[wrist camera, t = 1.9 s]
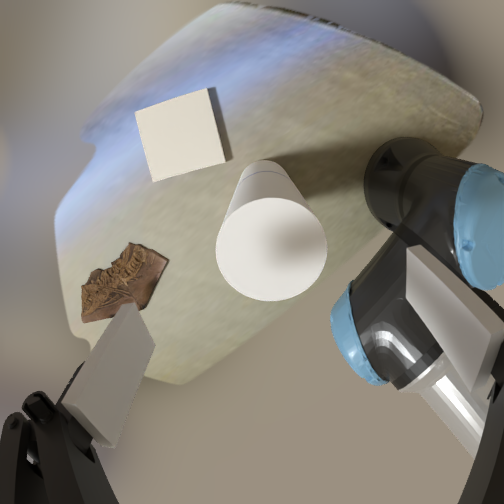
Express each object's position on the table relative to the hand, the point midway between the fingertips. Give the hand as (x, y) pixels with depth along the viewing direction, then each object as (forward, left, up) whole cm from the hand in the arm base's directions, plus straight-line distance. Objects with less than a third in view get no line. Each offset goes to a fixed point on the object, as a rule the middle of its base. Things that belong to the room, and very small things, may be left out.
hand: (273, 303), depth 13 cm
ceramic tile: (+10, -10, -31) cm, 34 cm away
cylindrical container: (0, 0, -31) cm, 31 cm away
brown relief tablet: (+30, +12, -32) cm, 45 cm away
